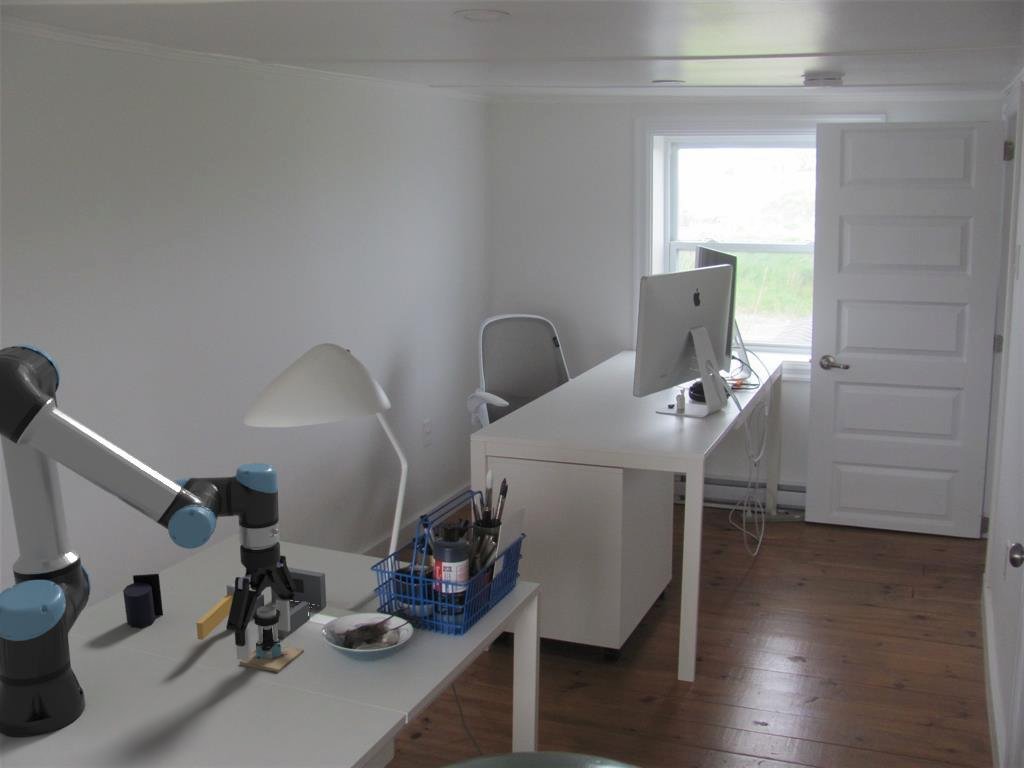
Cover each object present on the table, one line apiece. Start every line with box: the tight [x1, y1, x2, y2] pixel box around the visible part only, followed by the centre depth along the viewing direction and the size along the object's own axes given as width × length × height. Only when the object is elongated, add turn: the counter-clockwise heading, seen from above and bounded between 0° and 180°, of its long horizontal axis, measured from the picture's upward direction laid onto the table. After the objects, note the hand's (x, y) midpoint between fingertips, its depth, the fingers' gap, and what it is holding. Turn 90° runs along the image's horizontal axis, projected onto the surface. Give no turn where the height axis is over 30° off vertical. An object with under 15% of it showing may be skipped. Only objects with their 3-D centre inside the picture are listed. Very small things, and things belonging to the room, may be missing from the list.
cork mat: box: [239, 644, 305, 673], centre depth 203 cm, size 9×9×1 cm
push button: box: [253, 605, 290, 659], centre depth 202 cm, size 7×5×10 cm
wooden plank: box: [196, 583, 235, 640], centre depth 209 cm, size 16×2×5 cm, turn 170°
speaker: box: [122, 573, 164, 629], centre depth 218 cm, size 8×6×10 cm
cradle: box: [242, 566, 327, 640], centre depth 221 cm, size 17×14×8 cm
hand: (264, 644), depth 201 cm, fingers open, 13 cm apart
